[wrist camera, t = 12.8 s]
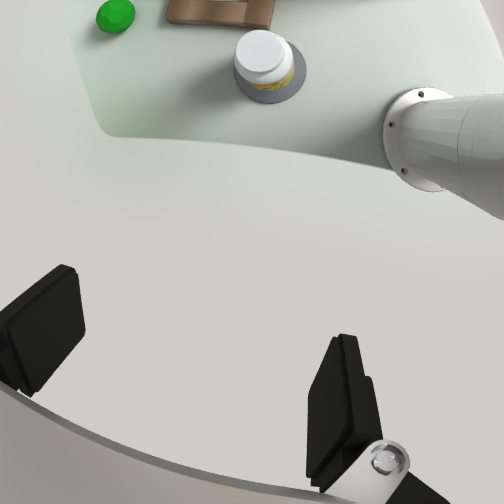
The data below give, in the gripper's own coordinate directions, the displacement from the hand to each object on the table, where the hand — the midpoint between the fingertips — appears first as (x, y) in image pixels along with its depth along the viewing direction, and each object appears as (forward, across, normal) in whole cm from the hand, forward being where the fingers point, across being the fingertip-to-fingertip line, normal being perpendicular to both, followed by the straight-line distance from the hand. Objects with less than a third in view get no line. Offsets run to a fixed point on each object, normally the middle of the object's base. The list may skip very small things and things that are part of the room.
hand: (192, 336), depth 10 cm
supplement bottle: (+28, +2, -13) cm, 31 cm away
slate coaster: (+28, +2, -13) cm, 31 cm away
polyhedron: (+29, +22, -19) cm, 41 cm away
